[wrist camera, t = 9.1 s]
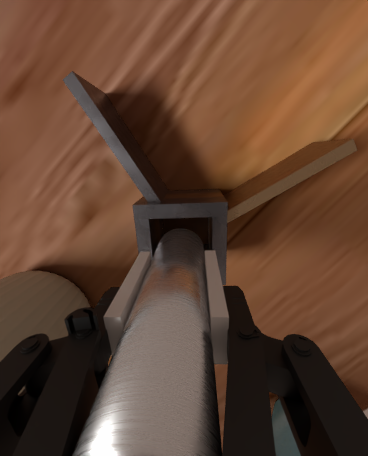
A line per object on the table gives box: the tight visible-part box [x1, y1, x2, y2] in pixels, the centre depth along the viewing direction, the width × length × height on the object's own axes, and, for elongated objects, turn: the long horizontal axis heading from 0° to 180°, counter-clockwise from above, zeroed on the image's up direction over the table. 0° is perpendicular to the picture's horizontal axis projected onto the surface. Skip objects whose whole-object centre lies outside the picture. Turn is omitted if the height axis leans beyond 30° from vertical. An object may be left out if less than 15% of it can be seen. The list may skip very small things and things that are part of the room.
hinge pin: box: [72, 228, 222, 456], centre depth 12 cm, size 4×4×14 cm
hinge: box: [63, 71, 357, 285], centre depth 20 cm, size 22×18×7 cm
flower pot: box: [272, 399, 301, 456], centre depth 30 cm, size 9×9×9 cm
